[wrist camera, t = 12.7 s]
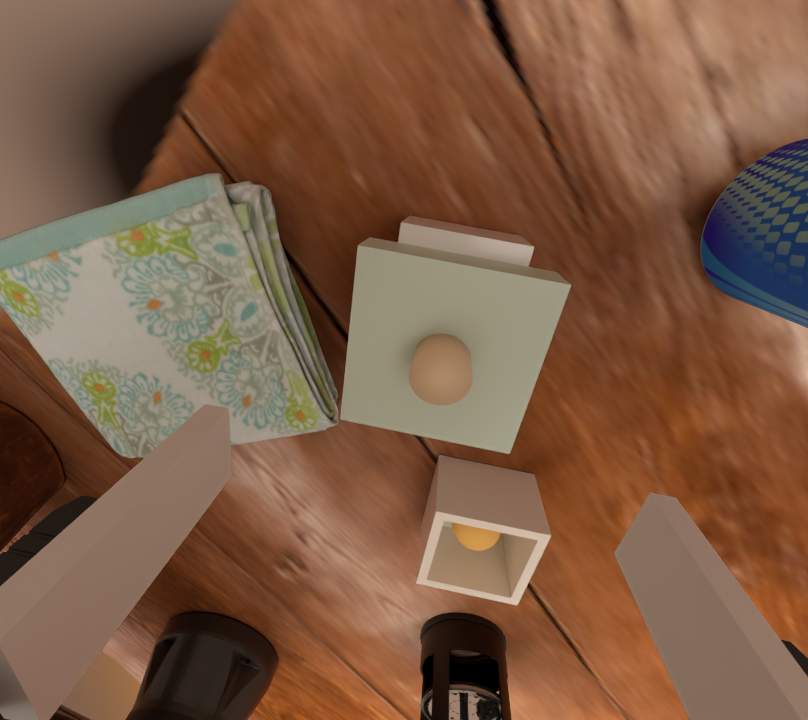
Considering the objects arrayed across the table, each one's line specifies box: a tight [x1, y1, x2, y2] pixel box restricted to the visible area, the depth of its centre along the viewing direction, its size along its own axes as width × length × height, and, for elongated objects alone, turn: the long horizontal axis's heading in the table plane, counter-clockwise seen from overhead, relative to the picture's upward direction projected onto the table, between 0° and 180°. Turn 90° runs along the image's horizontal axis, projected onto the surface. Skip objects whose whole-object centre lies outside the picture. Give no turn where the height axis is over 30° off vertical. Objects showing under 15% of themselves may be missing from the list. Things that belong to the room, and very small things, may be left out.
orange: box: [452, 522, 501, 551], centre depth 31 cm, size 4×4×4 cm
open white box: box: [416, 455, 551, 605], centre depth 30 cm, size 8×8×6 cm
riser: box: [398, 215, 534, 267], centre depth 24 cm, size 7×12×4 cm, turn 171°
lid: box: [340, 237, 571, 454], centre depth 20 cm, size 10×10×5 cm
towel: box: [0, 173, 339, 458], centre depth 27 cm, size 18×21×5 cm
